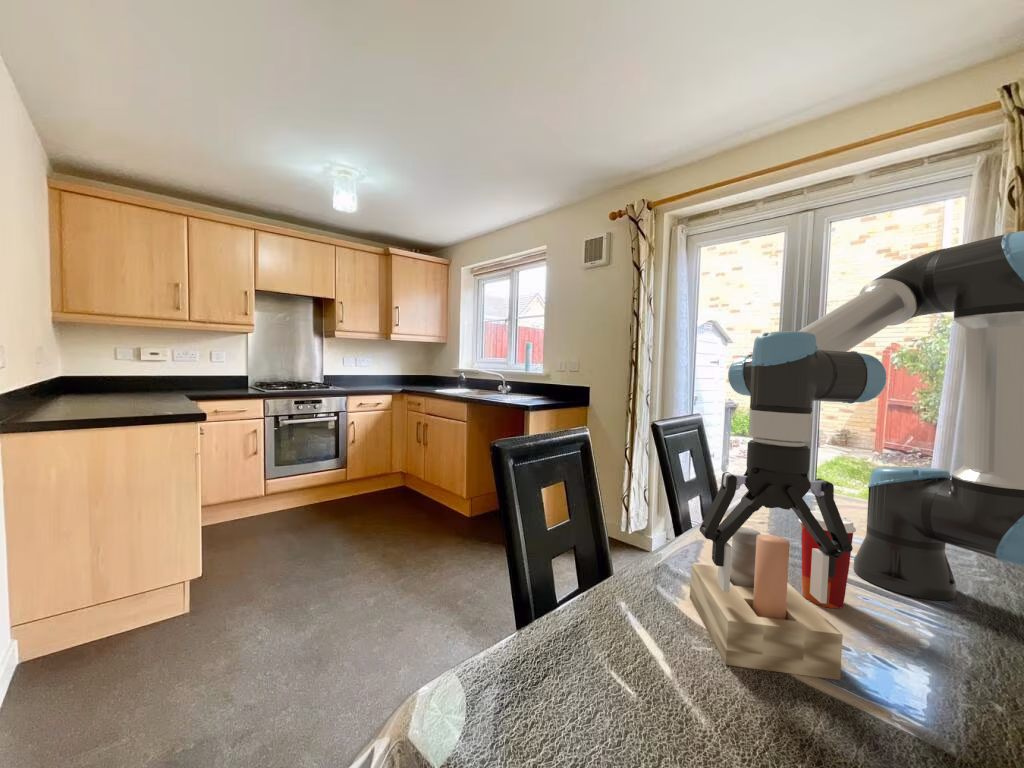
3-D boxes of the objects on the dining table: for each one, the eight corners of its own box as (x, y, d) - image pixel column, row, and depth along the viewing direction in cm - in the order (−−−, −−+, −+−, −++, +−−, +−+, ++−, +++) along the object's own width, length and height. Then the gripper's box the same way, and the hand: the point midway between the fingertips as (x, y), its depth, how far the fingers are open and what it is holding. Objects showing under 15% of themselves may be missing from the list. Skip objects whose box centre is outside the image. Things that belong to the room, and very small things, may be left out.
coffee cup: (840, 593, 79) (845, 513, 79) (860, 616, 71) (865, 527, 71) (788, 584, 82) (792, 507, 82) (802, 605, 74) (806, 519, 74)
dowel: (789, 647, 58) (795, 546, 58) (758, 643, 59) (764, 543, 59) (775, 630, 62) (781, 535, 62) (746, 627, 63) (752, 533, 63)
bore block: (775, 607, 73) (779, 526, 73) (840, 680, 55) (846, 573, 55) (689, 597, 75) (693, 518, 75) (725, 664, 57) (731, 561, 57)
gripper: (854, 443, 62) (846, 590, 63) (682, 432, 66) (675, 571, 66) (892, 451, 55) (883, 618, 55) (696, 439, 58) (688, 596, 59)
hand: (769, 593), depth 61 cm, fingers open, 12 cm apart
